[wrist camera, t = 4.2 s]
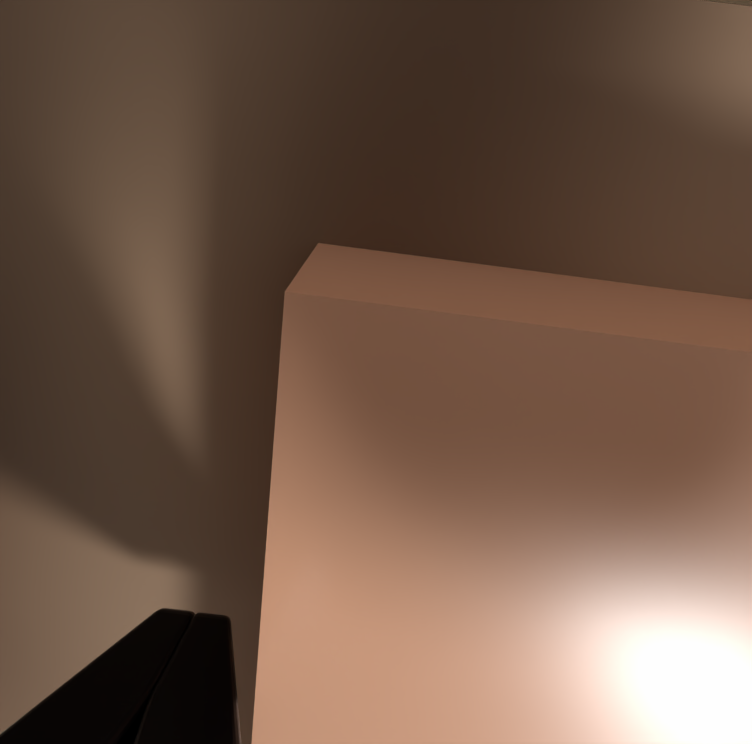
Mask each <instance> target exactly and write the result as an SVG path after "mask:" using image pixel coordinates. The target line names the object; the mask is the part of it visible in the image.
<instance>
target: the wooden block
mask: <svg viewBox="0 0 752 744" xmlns="http://www.w3.org/2000/svg"><path fill="white" fill-rule="evenodd" d="M318 243H323V244H330V245H338V246H345V247H353V248H361V249H368V250H376V251H384V252H391V253H399V254H407V255H414V256H422V257H430V258H437V259H445V260H453V261H460V262H468V263H476V264H483V265H491V266H499V267H506V268H514V269H522V270H529V271H537V272H544V273H552V274H560V275H567V276H575V277H583V278H590V279H598V280H606V281H613V282H621V283H629V284H636V285H644V286H651V287H659V288H667V289H674V290H682V291H690V292H697V293H705V294H713V295H720V296H728V297H735V298H743V299H751V300H752V6H745V5H737V4H729V3H721V2H713V1H706V0H0V734H1V733H2V732H3V731H4V730H6V729H7V728H8V727H10V726H11V725H12V724H13V723H15V722H16V721H17V720H18V719H20V718H21V717H22V716H23V715H25V714H26V713H27V712H29V711H30V710H31V709H32V708H34V707H35V706H36V705H37V704H39V703H40V702H41V701H42V700H44V699H45V698H46V697H48V696H49V695H50V694H51V693H53V692H54V691H55V690H56V689H58V688H59V687H60V686H62V685H63V684H64V683H65V682H67V681H68V680H69V679H70V678H72V677H73V676H74V675H75V674H77V673H78V672H79V671H81V670H82V669H83V668H84V667H86V666H87V665H88V664H89V663H91V662H92V661H93V660H94V659H96V658H97V657H98V656H100V655H101V654H102V653H103V652H105V651H106V650H107V649H108V648H110V647H111V646H112V645H114V644H115V643H116V642H117V641H119V640H120V639H121V638H122V637H124V636H125V635H126V634H127V633H129V632H130V631H131V630H133V629H134V628H135V627H136V626H138V625H139V624H140V623H141V622H143V621H144V620H145V619H146V618H148V617H149V616H150V615H152V614H153V613H154V612H155V611H157V610H159V609H161V608H171V609H179V610H187V611H192V612H194V613H195V614H196V613H199V612H203V613H211V614H219V615H226V616H228V617H229V618H230V620H231V627H232V639H233V651H234V663H235V674H236V686H237V698H238V710H239V722H240V734H241V744H251V743H252V729H253V716H254V702H255V688H256V675H257V661H258V648H259V634H260V621H261V607H262V593H263V580H264V566H265V553H266V539H267V525H268V512H269V498H270V485H271V471H272V458H273V444H274V430H275V417H276V403H277V390H278V376H279V363H280V349H281V335H282V322H283V308H284V295H285V290H286V289H287V288H288V286H289V285H290V283H291V282H292V280H293V279H294V277H295V276H296V275H297V273H298V272H299V270H300V269H301V267H302V266H303V264H304V263H305V262H306V260H307V259H308V257H309V256H310V254H311V253H312V251H313V250H314V248H315V247H316V246H317V244H318Z"/></svg>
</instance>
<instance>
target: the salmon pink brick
mask: <svg viewBox="0 0 752 744" xmlns="http://www.w3.org/2000/svg"><path fill="white" fill-rule="evenodd" d="M251 744H752V300H751V299H743V298H735V297H728V296H720V295H713V294H705V293H697V292H690V291H682V290H674V289H667V288H659V287H651V286H644V285H636V284H629V283H621V282H613V281H606V280H598V279H590V278H583V277H575V276H567V275H560V274H552V273H544V272H537V271H529V270H522V269H514V268H506V267H499V266H491V265H483V264H476V263H468V262H460V261H453V260H445V259H437V258H430V257H422V256H414V255H407V254H399V253H391V252H384V251H376V250H368V249H361V248H353V247H345V246H338V245H330V244H323V243H318V244H317V246H316V247H315V248H314V250H313V251H312V253H311V254H310V256H309V257H308V259H307V260H306V262H305V263H304V264H303V266H302V267H301V269H300V270H299V272H298V273H297V275H296V276H295V277H294V279H293V280H292V282H291V283H290V285H289V286H288V288H287V289H286V290H285V295H284V308H283V322H282V335H281V349H280V363H279V376H278V390H277V403H276V417H275V430H274V444H273V458H272V471H271V485H270V498H269V512H268V525H267V539H266V553H265V566H264V580H263V593H262V607H261V621H260V634H259V648H258V661H257V675H256V688H255V702H254V716H253V729H252V743H251Z"/></svg>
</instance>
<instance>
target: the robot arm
mask: <svg viewBox="0 0 752 744" xmlns="http://www.w3.org/2000/svg"><path fill="white" fill-rule="evenodd" d="M0 744H241V734H240V722H239V710H238V698H237V686H236V674H235V663H234V651H233V639H232V627H231V620H230V618H229V617H228V616H226V615H219V614H211V613H203V612H199V613H196V614H195V613H194V612H192V611H187V610H179V609H171V608H161V609H159V610H157V611H155V612H154V613H153V614H152V615H150V616H149V617H148V618H146V619H145V620H144V621H143V622H141V623H140V624H139V625H138V626H136V627H135V628H134V629H133V630H131V631H130V632H129V633H127V634H126V635H125V636H124V637H122V638H121V639H120V640H119V641H117V642H116V643H115V644H114V645H112V646H111V647H110V648H108V649H107V650H106V651H105V652H103V653H102V654H101V655H100V656H98V657H97V658H96V659H94V660H93V661H92V662H91V663H89V664H88V665H87V666H86V667H84V668H83V669H82V670H81V671H79V672H78V673H77V674H75V675H74V676H73V677H72V678H70V679H69V680H68V681H67V682H65V683H64V684H63V685H62V686H60V687H59V688H58V689H56V690H55V691H54V692H53V693H51V694H50V695H49V696H48V697H46V698H45V699H44V700H42V701H41V702H40V703H39V704H37V705H36V706H35V707H34V708H32V709H31V710H30V711H29V712H27V713H26V714H25V715H23V716H22V717H21V718H20V719H18V720H17V721H16V722H15V723H13V724H12V725H11V726H10V727H8V728H7V729H6V730H4V731H3V732H2V733H1V734H0Z"/></svg>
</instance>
